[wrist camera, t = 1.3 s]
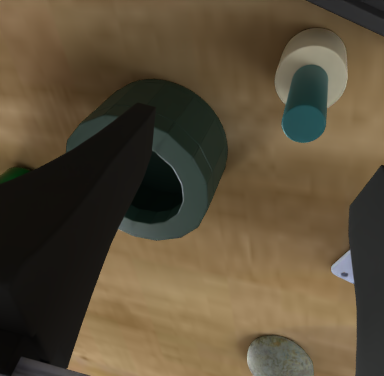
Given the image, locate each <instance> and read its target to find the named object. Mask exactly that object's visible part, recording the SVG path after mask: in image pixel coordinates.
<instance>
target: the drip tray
mask: <svg viewBox="0 0 384 376" xmlns="http://www.w3.org/2000/svg"><path fill="white" fill-rule="evenodd" d="M306 1H308V2H311V3H313V4H315V5H317V6H319V7H321V8H324V9H326V10H328V11H330V12H332V13H334V14H336V15H339V16H341V17H343V18H345V19H347V20H349V21H351V22H354V23H356V24H358V25H360V26H362V27H364V28H367V29H369V30H371V31H373V32H375V33H377V34H379V35H382V36H384V0H306Z"/></svg>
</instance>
